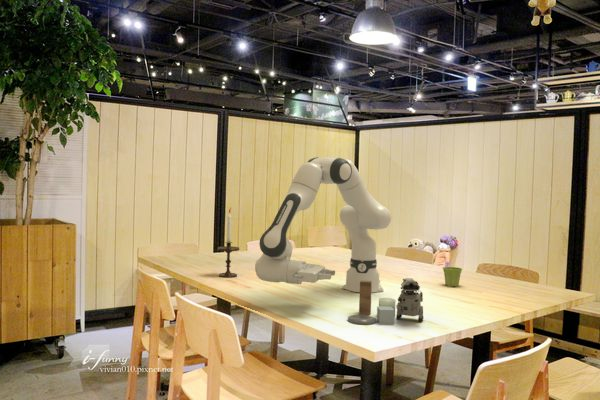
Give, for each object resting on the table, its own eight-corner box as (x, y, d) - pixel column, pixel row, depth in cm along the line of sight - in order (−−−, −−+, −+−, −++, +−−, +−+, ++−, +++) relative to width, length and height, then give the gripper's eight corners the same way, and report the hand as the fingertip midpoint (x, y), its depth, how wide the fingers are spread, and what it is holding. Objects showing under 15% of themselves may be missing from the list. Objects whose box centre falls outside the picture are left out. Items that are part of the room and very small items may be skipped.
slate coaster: (349, 316, 183) (349, 314, 183) (377, 318, 181) (377, 316, 180) (345, 323, 173) (346, 321, 173) (375, 325, 171) (375, 323, 171)
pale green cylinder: (378, 313, 188) (379, 297, 188) (395, 314, 187) (395, 298, 187) (377, 317, 182) (378, 300, 182) (394, 318, 181) (395, 302, 181)
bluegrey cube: (376, 320, 178) (377, 306, 178) (390, 320, 179) (391, 306, 178) (379, 324, 173) (380, 309, 173) (394, 324, 174) (394, 310, 173)
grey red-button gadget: (392, 323, 175) (394, 280, 174) (399, 316, 185) (400, 275, 185) (419, 327, 171) (420, 282, 171) (424, 319, 182) (426, 277, 181)
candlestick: (242, 277, 255) (244, 207, 254) (222, 278, 249) (224, 207, 248) (232, 273, 264) (234, 206, 263) (213, 275, 258) (215, 206, 257)
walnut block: (360, 311, 190) (361, 279, 190) (370, 312, 189) (371, 280, 189) (358, 314, 186) (360, 281, 186) (369, 315, 185) (370, 282, 185)
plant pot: (438, 285, 247) (438, 267, 247) (447, 283, 254) (448, 266, 253) (456, 288, 240) (457, 270, 240) (465, 286, 247) (465, 268, 247)
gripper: (291, 267, 182) (328, 270, 179) (303, 260, 202) (337, 263, 199) (290, 285, 182) (328, 288, 179) (302, 276, 202) (336, 279, 199)
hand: (333, 274), depth 189 cm, fingers open, 8 cm apart
